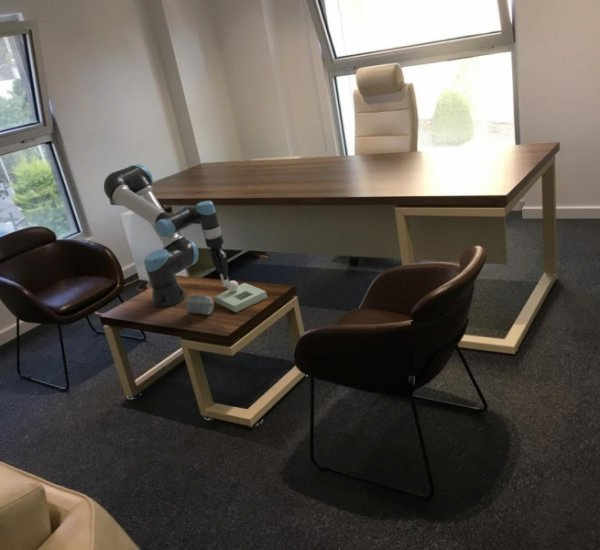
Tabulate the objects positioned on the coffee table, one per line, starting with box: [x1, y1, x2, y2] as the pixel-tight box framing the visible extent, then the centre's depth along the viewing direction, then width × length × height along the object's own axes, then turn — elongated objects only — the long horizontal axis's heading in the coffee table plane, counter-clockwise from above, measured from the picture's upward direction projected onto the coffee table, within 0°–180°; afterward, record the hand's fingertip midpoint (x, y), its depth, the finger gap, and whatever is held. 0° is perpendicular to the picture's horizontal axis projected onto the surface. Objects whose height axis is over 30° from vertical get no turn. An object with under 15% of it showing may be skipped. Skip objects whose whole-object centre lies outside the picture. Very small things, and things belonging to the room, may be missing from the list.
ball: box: [226, 280, 239, 292], centre depth 261 cm, size 5×5×5 cm
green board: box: [214, 282, 268, 313], centre depth 258 cm, size 18×16×3 cm
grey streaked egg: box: [185, 294, 215, 316], centre depth 253 cm, size 14×10×10 cm
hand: (226, 285), depth 266 cm, fingers closed
